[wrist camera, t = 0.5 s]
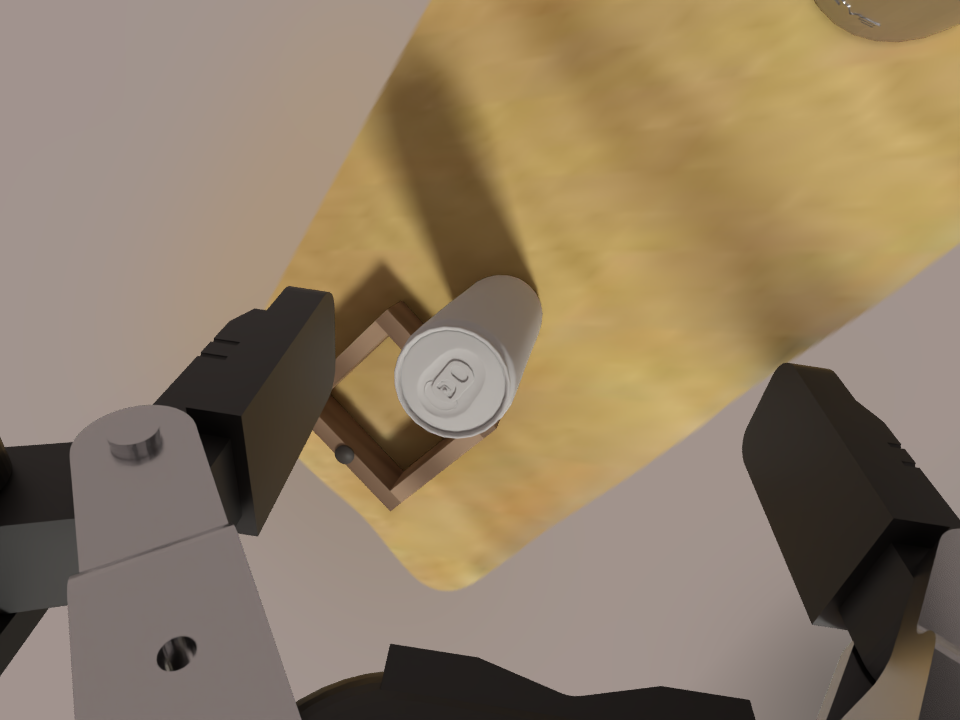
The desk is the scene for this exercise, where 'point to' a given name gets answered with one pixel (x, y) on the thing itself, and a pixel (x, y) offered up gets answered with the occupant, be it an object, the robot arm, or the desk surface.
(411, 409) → the beverage can
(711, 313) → the desk surface
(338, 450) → the collar
